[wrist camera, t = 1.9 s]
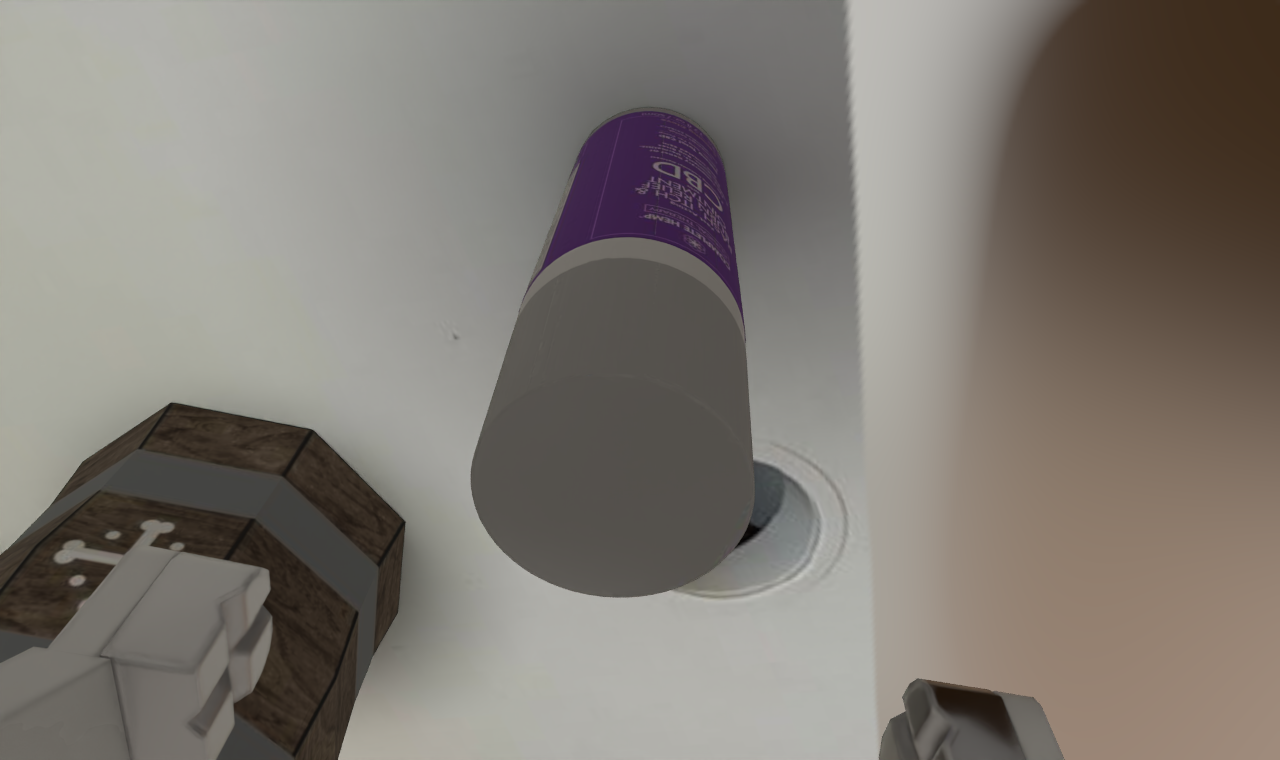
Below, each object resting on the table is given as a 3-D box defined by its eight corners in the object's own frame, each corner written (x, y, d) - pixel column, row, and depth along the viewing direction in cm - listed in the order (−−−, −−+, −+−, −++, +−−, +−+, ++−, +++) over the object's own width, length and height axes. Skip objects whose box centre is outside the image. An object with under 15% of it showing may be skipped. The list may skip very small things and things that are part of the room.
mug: (343, 378, 30) (88, 758, 17) (455, 639, 37) (332, 1051, 24) (-130, 446, 33) (-650, 817, 20) (56, 678, 40) (-244, 1066, 27)
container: (737, 115, 25) (790, 384, 12) (714, 262, 27) (737, 617, 14) (577, 97, 25) (459, 349, 12) (569, 247, 27) (463, 588, 14)
